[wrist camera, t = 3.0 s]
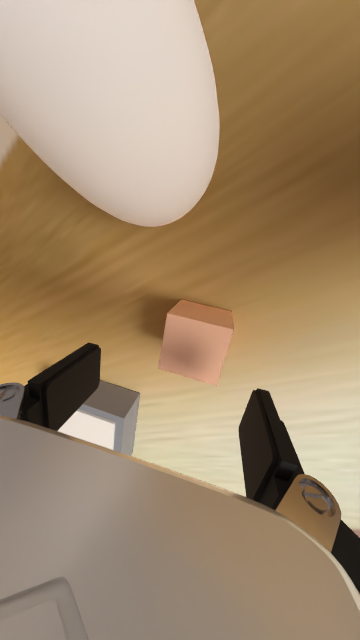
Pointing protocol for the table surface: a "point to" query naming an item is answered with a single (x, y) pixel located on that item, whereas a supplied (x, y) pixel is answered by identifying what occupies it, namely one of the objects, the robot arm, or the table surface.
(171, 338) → the terracotta cube
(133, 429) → the grey flat square block
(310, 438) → the table surface
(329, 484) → the table surface
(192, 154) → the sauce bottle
